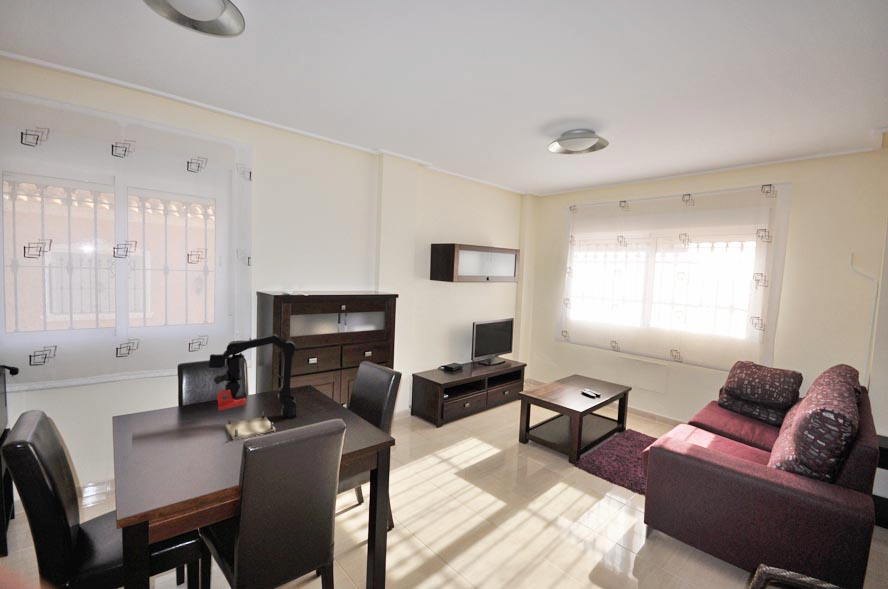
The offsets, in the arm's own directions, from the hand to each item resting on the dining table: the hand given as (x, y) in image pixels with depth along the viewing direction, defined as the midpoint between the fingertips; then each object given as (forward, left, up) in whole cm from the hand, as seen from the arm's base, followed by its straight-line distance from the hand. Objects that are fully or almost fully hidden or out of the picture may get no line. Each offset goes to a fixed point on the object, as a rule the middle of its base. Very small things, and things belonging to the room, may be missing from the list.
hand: (233, 398), depth 195 cm
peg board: (-5, +13, -12) cm, 19 cm away
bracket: (+1, +1, -3) cm, 3 cm away
